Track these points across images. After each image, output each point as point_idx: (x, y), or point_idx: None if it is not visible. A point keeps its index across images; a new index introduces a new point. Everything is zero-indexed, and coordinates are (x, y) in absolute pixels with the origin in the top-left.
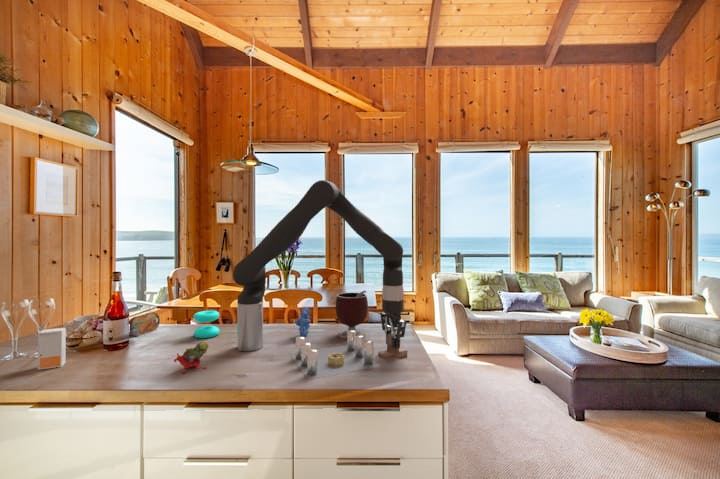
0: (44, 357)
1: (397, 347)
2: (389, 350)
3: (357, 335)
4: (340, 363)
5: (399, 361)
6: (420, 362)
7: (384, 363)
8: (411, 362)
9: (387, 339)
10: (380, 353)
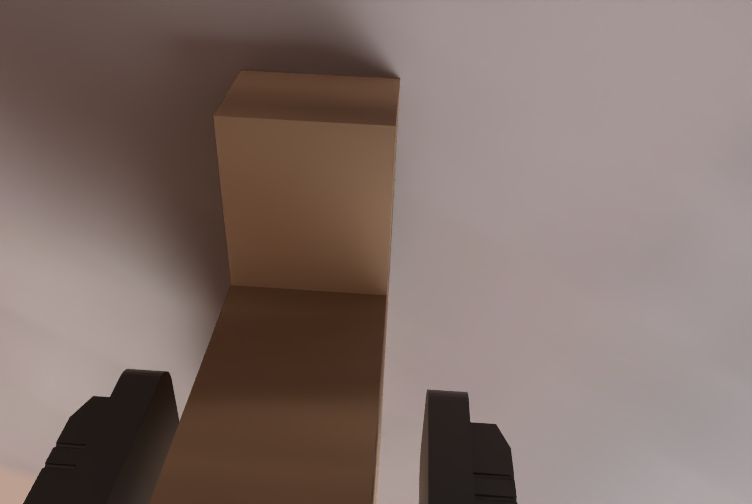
0: None
1: (95, 416)
2: (291, 305)
3: None
4: None
5: (122, 269)
6: (23, 432)
7: (104, 31)
8: (46, 363)
9: (353, 462)
10: (300, 119)
